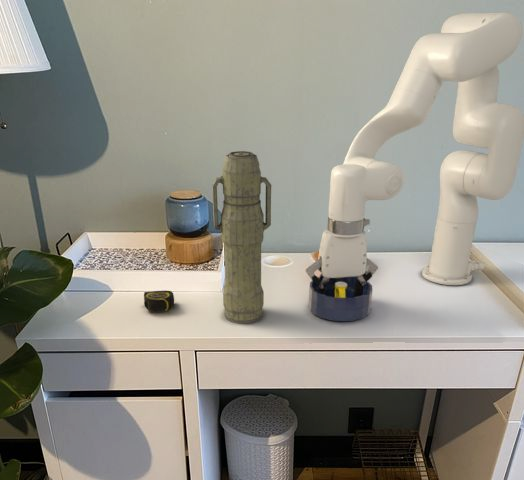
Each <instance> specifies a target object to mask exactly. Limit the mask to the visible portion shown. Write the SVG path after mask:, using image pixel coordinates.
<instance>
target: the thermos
mask: <svg viewBox="0 0 524 480" xmlns="http://www.w3.org/2000/svg"><path fill="white" fill-rule="evenodd" d="M221 171H222V172H221V173H222V174H221V175H220V176H219V177H216V178H215V179H214V181H213V182H212V184H211V193H212V213H213V215H212V216H213V225H214V230H216V231H219V232H220V234H221V235H220V237H221V241H222V243H223V254H224V256H223V257H224V259H223V260H224V284H223V291H222V301H223V303H222V304H223V307H224V308H223V309H224V318H225V319H226V320H227V321H229V322H231V323H234V324H242V325H243V324H244V325H245V324H252V323H256V322H258V321H260V320H261V319H262V318H263V315H264V311H263V308H264V303H265V301H264V297H265V295H264V288H263V286H262V244H263V242H264V234H265V233H264V232H265V230H267V229H268V228H270V227H271V225H272V183H271V182H270V181H269V180H268V178H267V177H265V176H262V174H261V173H262V172H261V168H260V161H259V159H258V155H257V154H255V153H254V152H252V151H246V150H243V151H242V150H240V151H239V150H237V151H231V152H229V153H227V154H226V155H225V158H224V162H223V165H222V169H221ZM262 183H263V184H264V185H265V214H264V212H263V209H262V203H261V202H262V200H261V198H260V197H261V193H262V192H261V190H262V189H261V188H262V187H261V186H262ZM219 184H221V185H222V194H223V197H224V198H223V201H222V202H223V205H222V206H223V207H222V210H221V213H220V222H219V213H218V212H219V209H218V185H219ZM264 216H265V219H264ZM264 220H265V221H264Z"/></svg>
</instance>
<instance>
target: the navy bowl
mask: <svg viewBox="0 0 524 480" xmlns="http://www.w3.org/2000/svg"><path fill="white" fill-rule="evenodd" d="M317 277H318V278H319V276H317ZM356 280H357V279H356V277H344V278H330V279H329V281H328V282H327V284H326V285H325V287H326V289H327V294H326V295H323V294H321V293H318V285H316V284H315V283H314V282H313V281H312V280H311V281H310V282H309V289H308V309H309V311H310V312H311V313H312V314H313V315H315V316H316V317H318V318H320V319H321V318H322V319H325V320H328V321H334V322H335V321H336V322H351V321H357V320H360V319H363V318H365V317H367V316H368V315H369V314H370V312H371V308H372V299H373V298H372V297H373V285H372V284H371V282H369V280H368V281H367V282H366V285H364V286H363V295H362V296H358V297H353V293H354V283H355V281H356ZM336 282H345V283H347V288H346V289H345V298H338V297H335V283H336Z"/></svg>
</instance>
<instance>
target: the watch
mask: <svg viewBox="0 0 524 480" xmlns="http://www.w3.org/2000/svg"><path fill="white" fill-rule="evenodd" d="M346 288H347V283H345V282H336V283H335V297H338V298H345V289H346Z"/></svg>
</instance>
